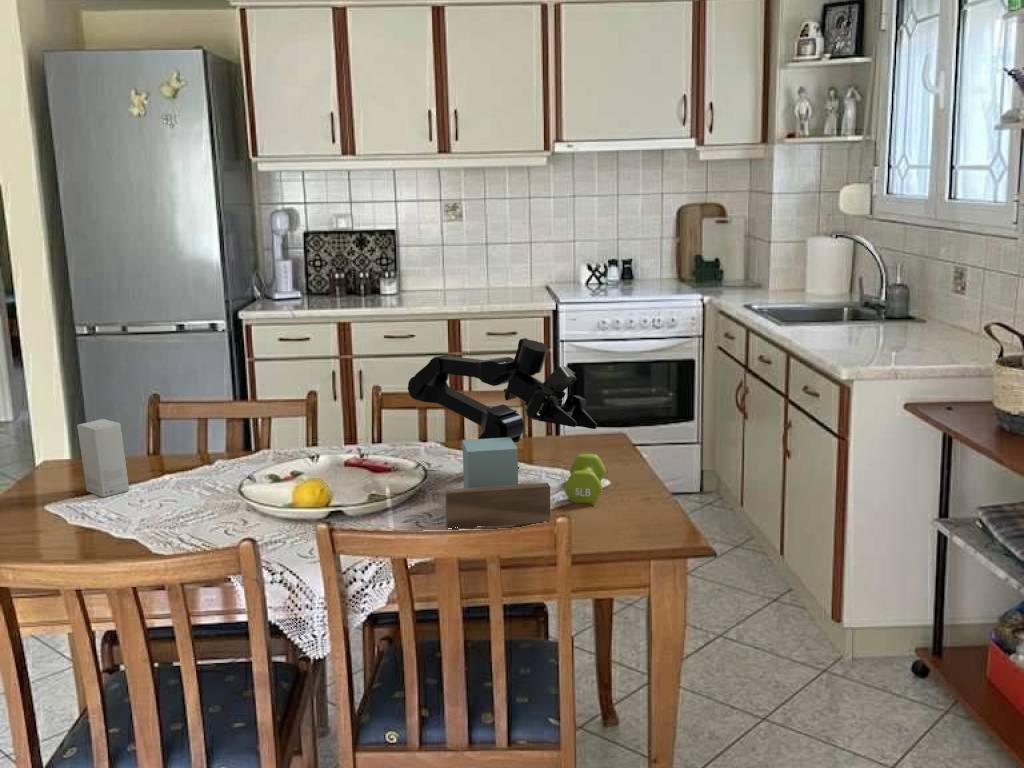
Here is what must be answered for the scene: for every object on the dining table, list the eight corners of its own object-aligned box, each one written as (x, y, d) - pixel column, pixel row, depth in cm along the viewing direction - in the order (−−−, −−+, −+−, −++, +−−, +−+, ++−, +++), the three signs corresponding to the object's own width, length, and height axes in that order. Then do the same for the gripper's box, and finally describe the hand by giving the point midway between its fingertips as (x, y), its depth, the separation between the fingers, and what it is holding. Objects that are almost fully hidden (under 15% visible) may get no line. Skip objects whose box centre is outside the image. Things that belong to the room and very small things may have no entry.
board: (446, 529, 192) (445, 489, 190) (548, 521, 195) (547, 482, 193) (447, 533, 189) (446, 493, 188) (550, 525, 192) (550, 486, 191)
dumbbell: (601, 508, 202) (601, 474, 201) (563, 507, 204) (562, 473, 202) (606, 484, 218) (606, 452, 217) (570, 483, 219) (570, 451, 218)
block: (464, 500, 206) (462, 440, 203) (511, 497, 207) (510, 437, 205) (469, 514, 197) (467, 451, 195) (518, 511, 199) (517, 448, 196)
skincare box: (129, 491, 219) (122, 423, 216) (100, 498, 214) (93, 429, 211) (112, 484, 225) (105, 417, 221) (83, 491, 220) (75, 423, 217)
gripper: (526, 354, 210) (582, 389, 202) (569, 363, 226) (622, 396, 218) (503, 400, 212) (558, 436, 204) (547, 406, 228) (599, 440, 220)
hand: (586, 426), depth 211 cm, fingers open, 9 cm apart
